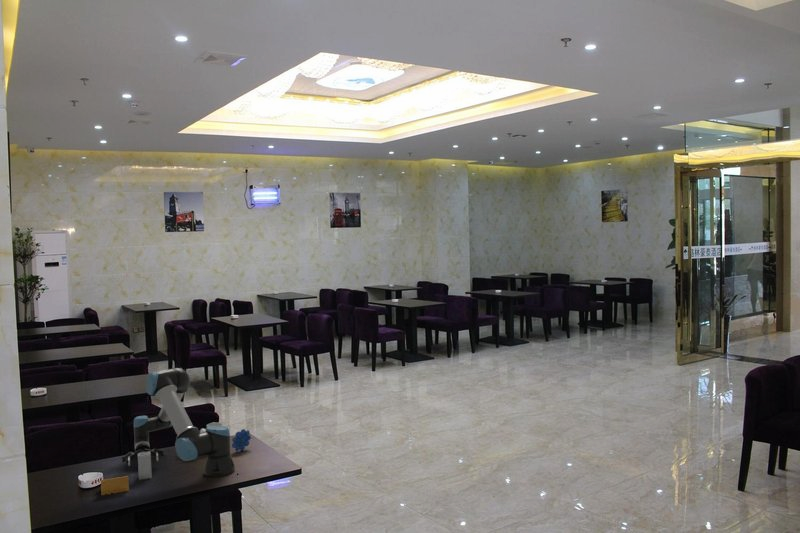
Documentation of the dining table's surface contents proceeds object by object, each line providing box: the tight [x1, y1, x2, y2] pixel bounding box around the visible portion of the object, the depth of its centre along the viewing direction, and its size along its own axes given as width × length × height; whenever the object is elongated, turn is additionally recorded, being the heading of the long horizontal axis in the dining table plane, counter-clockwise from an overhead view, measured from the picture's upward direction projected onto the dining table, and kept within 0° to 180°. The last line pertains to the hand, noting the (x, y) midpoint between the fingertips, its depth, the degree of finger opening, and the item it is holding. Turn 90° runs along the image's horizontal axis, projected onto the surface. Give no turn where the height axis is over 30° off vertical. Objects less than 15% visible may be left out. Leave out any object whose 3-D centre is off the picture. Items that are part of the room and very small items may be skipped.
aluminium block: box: [137, 451, 153, 481], centre depth 322 cm, size 6×6×12 cm
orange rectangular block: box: [100, 475, 130, 496], centre depth 305 cm, size 9×12×7 cm
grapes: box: [231, 428, 252, 452], centre depth 360 cm, size 12×7×12 cm, turn 129°
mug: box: [206, 422, 223, 428], centre depth 376 cm, size 12×9×11 cm
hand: (143, 460), depth 326 cm, fingers open, 13 cm apart
